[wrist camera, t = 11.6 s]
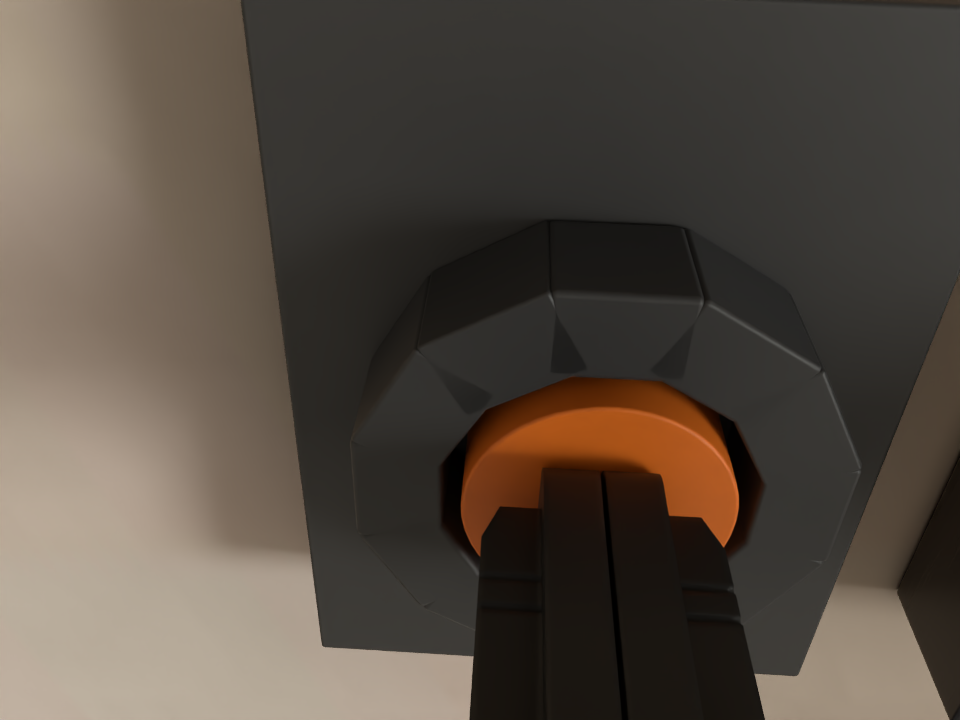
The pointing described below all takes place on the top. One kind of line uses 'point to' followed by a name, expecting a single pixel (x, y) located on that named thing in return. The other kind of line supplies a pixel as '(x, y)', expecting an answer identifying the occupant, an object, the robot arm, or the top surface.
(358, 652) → the top surface
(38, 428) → the top surface
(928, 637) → the dial panel
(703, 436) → the button
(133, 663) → the top surface
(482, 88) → the button block
